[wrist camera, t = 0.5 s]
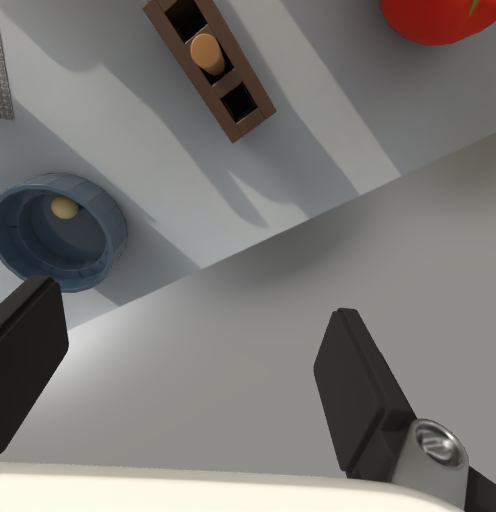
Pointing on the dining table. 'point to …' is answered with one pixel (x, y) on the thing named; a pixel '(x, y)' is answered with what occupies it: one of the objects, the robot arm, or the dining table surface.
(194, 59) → the stick
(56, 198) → the dough ball
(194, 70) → the rack
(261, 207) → the dining table surface
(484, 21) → the red bell pepper
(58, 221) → the mixing bowl
